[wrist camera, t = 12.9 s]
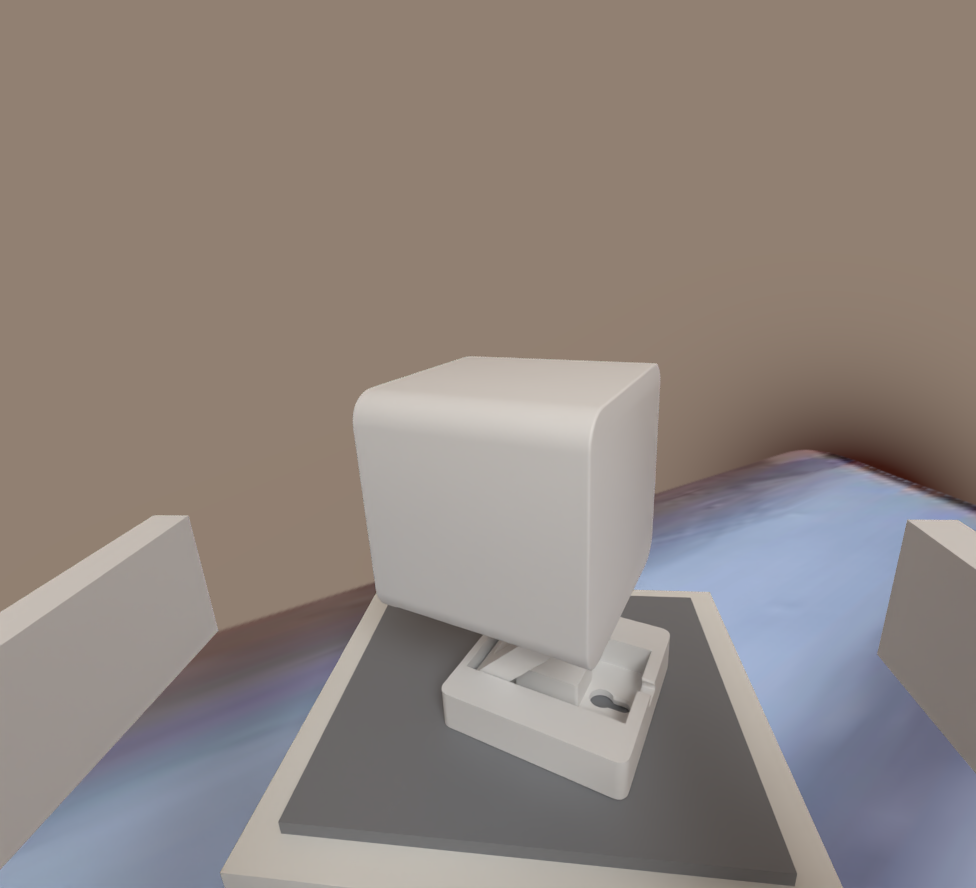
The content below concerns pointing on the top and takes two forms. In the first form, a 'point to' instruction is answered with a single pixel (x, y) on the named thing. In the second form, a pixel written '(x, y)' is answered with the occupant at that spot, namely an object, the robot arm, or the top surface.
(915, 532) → the robot arm
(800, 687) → the top surface
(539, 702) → the security camera
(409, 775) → the cream gray-topped block
